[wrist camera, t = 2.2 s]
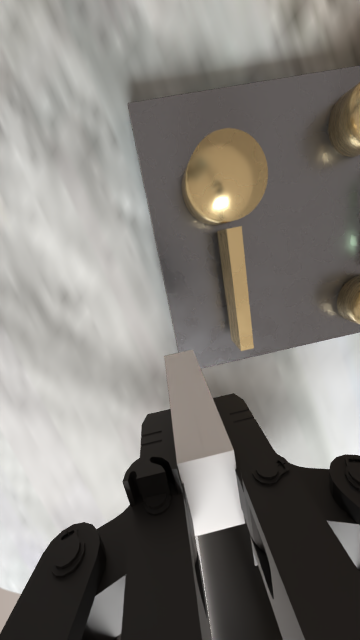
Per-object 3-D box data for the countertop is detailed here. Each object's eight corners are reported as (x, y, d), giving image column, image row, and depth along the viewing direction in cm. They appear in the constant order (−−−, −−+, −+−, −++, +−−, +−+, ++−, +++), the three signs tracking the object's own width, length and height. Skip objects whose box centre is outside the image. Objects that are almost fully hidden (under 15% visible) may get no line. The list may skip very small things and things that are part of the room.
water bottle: (178, 514, 35) (224, 958, 13) (197, 458, 33) (296, 894, 11) (242, 519, 37) (376, 915, 15) (266, 466, 34) (468, 851, 13)
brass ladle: (175, 154, 20) (180, 136, 17) (245, 142, 20) (264, 121, 17) (206, 341, 25) (215, 356, 22) (261, 329, 26) (279, 342, 22)
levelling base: (129, 116, 21) (122, 71, 16) (390, 73, 22) (466, 18, 17) (180, 363, 28) (188, 391, 23) (374, 320, 30) (424, 336, 24)
